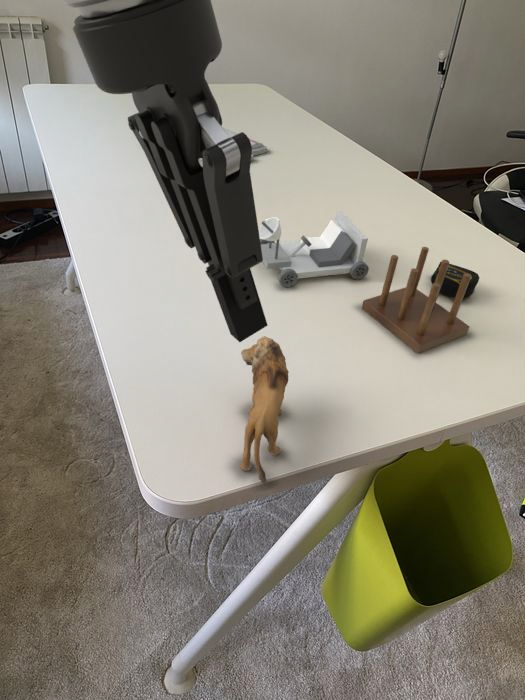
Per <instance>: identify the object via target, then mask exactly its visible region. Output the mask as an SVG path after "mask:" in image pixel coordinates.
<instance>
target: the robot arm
mask: <svg viewBox="0 0 525 700" xmlns="http://www.w3.org/2000/svg"><path fill="white" fill-rule="evenodd" d="M61 1H62V3H63V4H64V5H66V6H67V7H69V8H75V9H76V8H77V10H78V13H79V14H80V15H78V16H77V17H76V18H75V19H74V20H73V23H74V25H73V27H72V30H73V33H74V35H75V38H76V40H77V42H78V46H79V48H80V49H81V52H82V55H83V57H84V60H85V62H86V64H87V66H88V69H89V71H90V73H91V76H92V78H93V81H94V83H95V85H96V86H97V88H98V89H99V90H101V91H102V92H104V93H107V94H111V95H127V94H131V96H132V100H133V104H134V106H135V109H136V110H137V112H136V113H134V114H132V115H130V116H127V123H128V127H129V129H130V130H131V131H132V133H133V135H134V137H135V138H136V140H137V142H138V143H139V146H140V147H141V149H142V150H143V152H144V154H145V156H146V159H147V161H148V163H149V165H150V167H151V169H152V172H153V175H154V176H155V178H156V181H157V182H158V185H159V187H160V189H161V191H162V193H163V195H164V198H165V200H166V202H167V205H168V206H169V208H170V210H171V213H172V215H173V216H174V220H175V221H176V224H177V226H178V228H179V230H180V233H181V235H182V237H183V239H184V240H183V241H184V243H185V244H186V246H188V248H190V249H193V248H195V250H196V252H197V256H198V259H199V260H200V261H201V262H202V263H203V264H205V265H207V264H208V265H207V266H206V268H205V269H206V270H205V274H206V275H207V277H208V279H209V280H210V282H211V285H212V288H213V290H214V293H215V297H216V298H217V302H218V304H219V307H220V309H221V312H222V314H223V318H224V320H225V323H226V325H227V328H228V331H229V334H230V335H231V336H232V337H233V338H234V339H235V340H236V341H238V343H242V342H243V341H245V340H246V339H248V338H250V337H252V336H253V335H255V334H257V333H258V332H260V331H261V330H263V329H264V328H266V327H268V326H269V325H268V322H267V319H266V316H265V312H264V308H263V306H262V303H261V302H262V301H261V299H260V296H259V293H258V289H257V286H256V283H255V280H254V275H253V273H252V268H253V267H256V266H257V265H259V264H260V263H263V262H262V261H263V257H262V250H261V243H260V237H259V224H258V223H259V222H258V216H257V210H256V204H255V203H256V202H255V195H254V189H253V183H252V177H251V163H252V161H251V155H252V146H251V143H250V140H249V136H248V135H247V134H246V133H245V132H243V131H241V132H239V133H237V135H235V136H233V137H230V136H229V135H228V134H227V133H226V131H225V130H224V129H223V128H224V127H222V126H223V118H222V115H221V111H220V108H219V105H218V103H217V101H216V99H215V97H214V95H213V93H212V91H211V88H210V86H209V82H208V81H207V80H206V77H205V76H206V74H205V73H206V70H207V68H208V67H209V64H210V63H212V62H214V61H216V59H217V58H218V57H219V55H220V54H221V52H222V48H223V41H222V38H221V34H220V30H219V26H218V23H217V18H216V14H215V11H214V7H213V4H212V3H213V2H212V0H61Z"/></svg>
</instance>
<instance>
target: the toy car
mask: <svg viewBox="0 0 525 700" xmlns="http://www.w3.org/2000/svg"><path fill="white" fill-rule="evenodd" d="M258 230H259V237H260V243H261V250H262V257H263V261H262V262H261V263H263V265H264V267H265V268H266V269H267V270H272V269H273V270H274V269H278V270H279V271H280V273H279V275H278V279H277V280H278V283H279V284H280V285H281V286H282V287H283V288H291V287H293V286H295V284H296V283H297V282H298V279H305V278H306V279H307V278H315V277H316V278H317V277H324V276H335V275H343V274H344V275H345V274H349V275H350V276H351V277H352V279H354V280H357V281H358V280H359V281H360V280H362V279H364V278H365V277H366V276H368V273H369V271H370V267H369V265H368V264H367V263H366V262H365V261H364V259H365V253H366V250H367V246H368V241H369V237H367V235H365V234H364V232H362V231H361V229H359V228H358V226H357V225H356V224H355V223H354V222H353V221H352V220H351V219H350V218H349V217H348V216H347V215H346V214H345V213H344V212H343V211H342V210H337V211H335V216H334V220H333V219H331V220H330V221H329V223H328V224H327V226H326V228H325V229H324V230H323V232H322V233H321V234H320V236H312V237H306V236H305V235H302V236H301V237H300V240H292V241H291V240H289V241H280V239H281V236H282V227H281V220H280V218H279V217H276V216H274V217H268V218H265V220H262V222H261V225H260V226H259V227H258Z"/></svg>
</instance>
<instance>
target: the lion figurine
mask: <svg viewBox="0 0 525 700" xmlns="http://www.w3.org/2000/svg"><path fill="white" fill-rule="evenodd" d="M282 350H283V349H282V348H281V345H280V344H279V343H278V342H276V341H275V340H274V339H273V338H271V337H267V336H262V337H260V338H259V339H257V340H256V343H255V344H253V345H252V346H251V347H249V348H245V349H242V350H241V351H240V355H241V359H242V361H244V362H245V364H246V366H251V373H252V374H253V375H252V385H253V388H252V396H251V401H252V407H251V408H250V409H249V410H248V414H249V415H248V420H247V423H246V425H245V429H244V436H243V438H244V439H243V451H242V457H241V458H242V461H241V462H240V465H239V466H240V469H241V470H242V471H249V470H251V468H252V462H251V456H252V455H251V454H252V453H251V451H252V445H254V446H253V459H254V464H255V467H256V470H257V472H258V473H257V474H258V480H259V481H260V482H261V483H262V484H263V485H264V484H267V478H266V472H265V470H264V468H263V467H262V464H261V459H260V458H261V457H260V449H261V441H262V438H263V437H264V438H265V439H266V441H267V443H268V446H267V453H269V454H270V455H271V456H275V457H276V456H278V455H280V453H281V451H282V450H281V448H280V446H279V445H277V440H278V435H279V424H280V423H279V416H280V415H282V413H283V410H282V408H281V407H282V404H283V401H284V399H285V392H286V387H287V385H288V383H289V370H288V368H287V362H286V357H285V355H284V353H283V351H282ZM262 436H263V437H262ZM253 442H254V443H253Z"/></svg>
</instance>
